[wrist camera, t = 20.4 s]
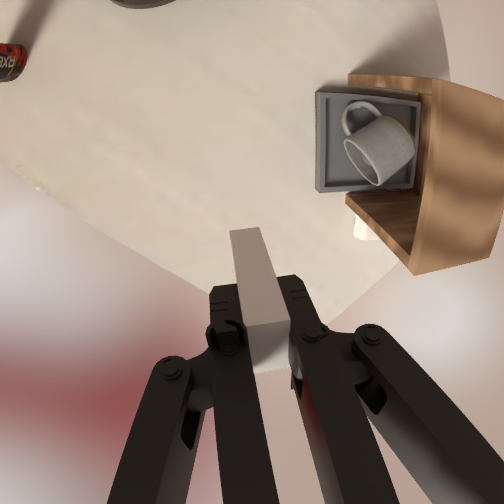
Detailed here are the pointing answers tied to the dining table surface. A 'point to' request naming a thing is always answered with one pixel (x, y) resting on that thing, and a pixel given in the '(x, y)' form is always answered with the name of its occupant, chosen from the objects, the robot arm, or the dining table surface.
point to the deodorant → (11, 61)
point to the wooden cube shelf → (442, 178)
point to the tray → (333, 135)
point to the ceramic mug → (378, 145)
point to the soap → (363, 230)
